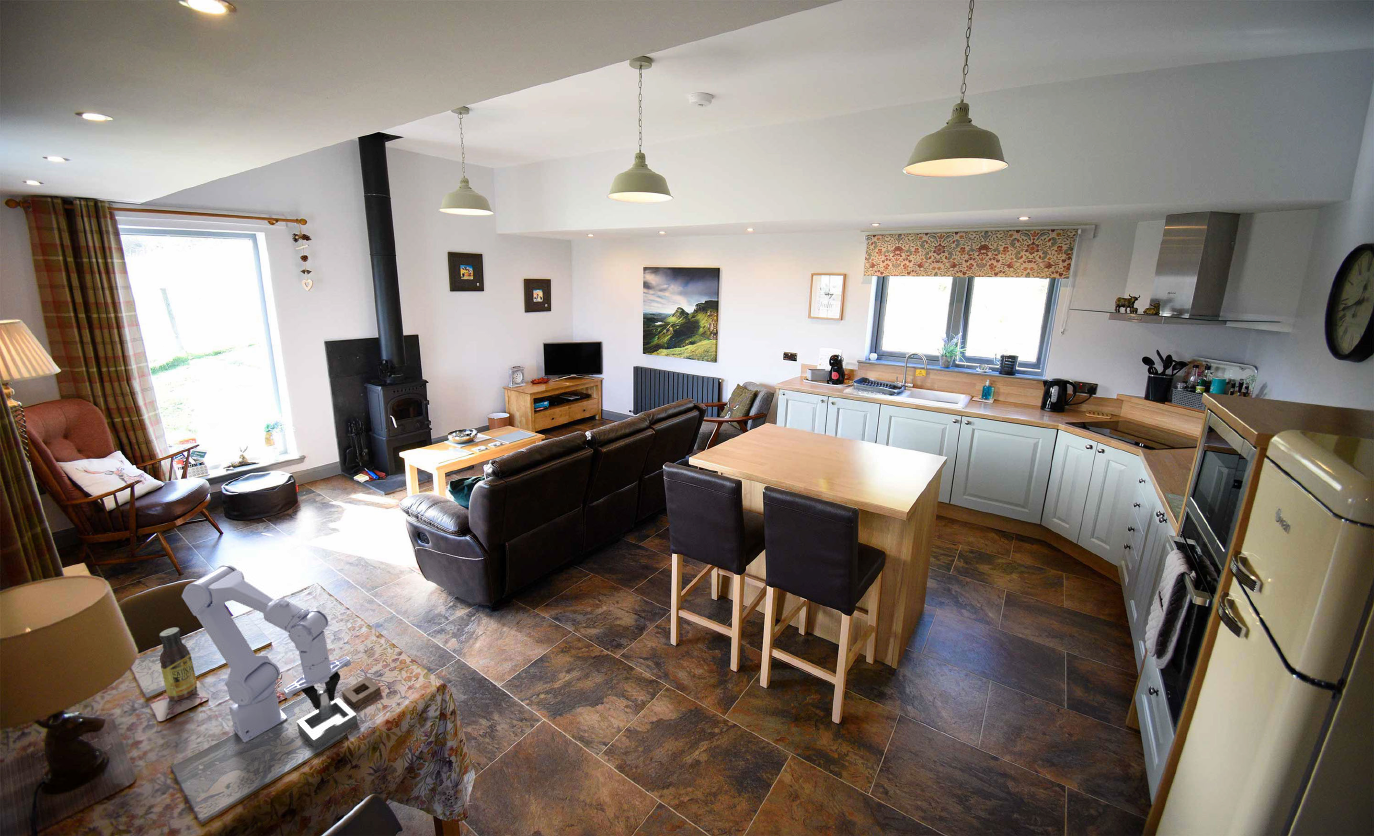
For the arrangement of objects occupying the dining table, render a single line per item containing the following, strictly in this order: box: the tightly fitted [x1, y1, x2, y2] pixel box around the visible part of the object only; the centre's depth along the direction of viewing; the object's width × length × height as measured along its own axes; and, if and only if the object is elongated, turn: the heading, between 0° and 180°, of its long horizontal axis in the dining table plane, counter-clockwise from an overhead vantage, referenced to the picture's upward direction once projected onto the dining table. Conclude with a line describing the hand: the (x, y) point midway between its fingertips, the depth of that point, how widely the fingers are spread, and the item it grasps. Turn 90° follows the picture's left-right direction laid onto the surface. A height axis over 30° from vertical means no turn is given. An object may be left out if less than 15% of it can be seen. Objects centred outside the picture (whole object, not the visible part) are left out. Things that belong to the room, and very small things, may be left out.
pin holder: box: [341, 676, 382, 709], centre depth 152 cm, size 7×7×2 cm
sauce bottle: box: [159, 627, 198, 702], centre depth 150 cm, size 7×6×20 cm
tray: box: [296, 697, 359, 751], centre depth 142 cm, size 10×10×3 cm
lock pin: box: [317, 687, 333, 719], centre depth 140 cm, size 3×3×7 cm
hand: (323, 703), depth 140 cm, fingers closed on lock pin, 3 cm apart
